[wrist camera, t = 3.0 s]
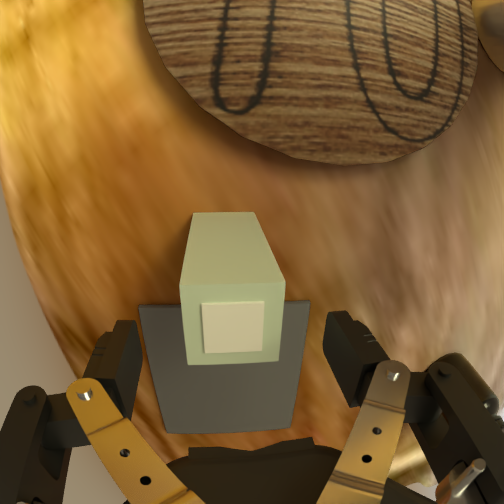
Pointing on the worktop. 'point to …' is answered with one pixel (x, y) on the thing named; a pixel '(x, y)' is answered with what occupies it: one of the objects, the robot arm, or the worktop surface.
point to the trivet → (323, 70)
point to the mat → (222, 377)
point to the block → (230, 291)
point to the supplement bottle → (475, 385)
